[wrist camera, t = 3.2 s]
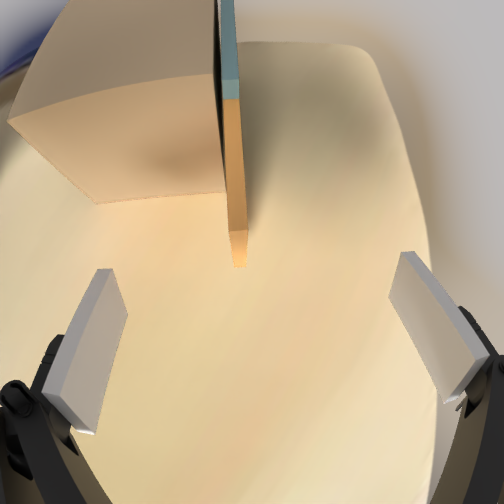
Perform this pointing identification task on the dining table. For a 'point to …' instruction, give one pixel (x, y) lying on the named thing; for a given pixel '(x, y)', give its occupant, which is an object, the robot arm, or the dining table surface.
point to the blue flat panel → (233, 137)
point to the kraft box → (128, 98)
